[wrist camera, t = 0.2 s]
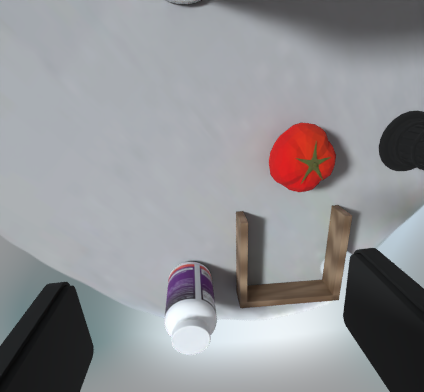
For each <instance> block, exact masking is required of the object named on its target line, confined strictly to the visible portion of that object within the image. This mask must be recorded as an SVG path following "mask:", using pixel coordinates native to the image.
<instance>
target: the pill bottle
mask: <svg viewBox="0 0 424 392" xmlns="http://www.w3.org/2000/svg"><path fill="white" fill-rule="evenodd" d="M216 323H217V316H216V308H215V301H214V293H213V285H212V277H211V274H210V272H209V270H208V269H207V268H206V267H205V266H204V265H202V264H200V263H197V262H185V263H182V264H179V265H178V266H176V267H175V268H174V269H173V270H172V272H171V273H170V276H169V281H168V291H167V301H166V311H165V328H166V330H167V332H168V334H169V335H170V336H171V337H172V345H173V347H174V349H175V350H177V351H178V352H179V353H182V354H185V355H194V354H198V353H201V352H202V351H204V350H205V349H206V348H207V347H208V346H209V344H210V340H211V338H210V335H211V334H212V333H213V331H214V329H215V327H216Z"/></svg>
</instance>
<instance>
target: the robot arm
mask: <svg viewBox="0 0 424 392" xmlns="http://www.w3.org/2000/svg"><path fill="white" fill-rule="evenodd" d="M167 1H169V2H172V3H176V4H191V3H196V2H198V1H201V0H167ZM343 317H344V322H345V325H346V327H347V328H348V330H349V331H350V333H351V334H352V336H353V337H354V339H355V340H356V342H357V343H358V345H359V346H360V348H361V349H362V351H363V352H364V354H365V355H366V357H367V358H368V360H369V361H370V363H371V364H372V366H373V367H374V369H375V370H376V372H377V373H378V375H379V376H380V377H381V379H382V381H383V382H384V384H385V385H386V387H387V388H388V390H389V391H390V392H424V289H423V288H422V287H421V286H420V285H419V284H418V283H416V282H415V281H414V280H413V279H412V278H410V277H409V276H408V275H407V274H406V273H404V272H403V271H402V270H401V269H400V268H398V267H397V266H396V265H395V264H394V263H393V262H391V261H390V260H389V259H388V258H387V257H385V256H384V255H383V254H382V253H381V252H380V251H378V250H377V249H375V248H368V249H359V250H356V251H355V252H354V254H353V255H351V257H350V262H349V270H348V280H347V288H346V296H345V304H344V313H343ZM92 357H93V343H92V340H91V337H90V334H89V330H88V327H87V324H86V321H85V318H84V314H83V312H82V308H81V305H80V302H79V299H78V296H77V292H76V289H75V287H74V286H70V284H69V283H68V282H60V283H51V284H47V285H46V286H45V287H44V288H43V290H42V291H41V292H40V294H39V295H38V297H37V298H36V299H35V300H34V302H33V303H32V304H31V306H30V307H29V308H28V310H27V311H26V312H25V314H24V315H23V316H22V318H21V319H20V321H19V322H18V323H17V324H16V326H15V327H14V328H13V330H12V331H11V332H10V334H9V335H8V336H7V338H6V339H5V340H4V342H3V343H2V344H1V346H0V392H80V390H81V387H82V384H83V382H84V379H85V376H86V373H87V371H88V368H89V365H90V363H91V360H92Z"/></svg>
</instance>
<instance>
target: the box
mask: <svg viewBox="0 0 424 392" xmlns="http://www.w3.org/2000/svg"><path fill="white" fill-rule="evenodd" d="M351 221H352V215H350V214H349V213H348V212H346V211H345V210H344V209H343V208H341V207H340V206H339V205H335V206H332V209H331V216H330V224H329V232H328V239H327V247H326V255H325V262H324V270H323V278H322V280H313V281H300V282H287V283H274V284H262V285H249V286H247V266H248V221H247V219H246V217H245V215H244V212H243V211H240V212H236V277H237V295H238V300H239V304H240V308H249V307H261V306H273V305H285V304H297V303H309V302H321V301H333V300H339V295H340V288H341V282H342V276H343V270H344V263H345V257H346V252H347V245H348V239H349V233H350V227H351Z"/></svg>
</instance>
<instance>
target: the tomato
mask: <svg viewBox="0 0 424 392" xmlns="http://www.w3.org/2000/svg"><path fill="white" fill-rule="evenodd" d="M335 159H336V154H335V151H334V149H333V146H332V145H331V143H330V142H329V141H328V138H327V135H326V133H325V132H324V130H323V129H322V128H320V127H319V126H317V125H315V124H309V123H298V124H295V125H293V126H292V127H290V128H289V129H288V130H287V131H285V132H284V133H283V134H282V135H280V136H279V138H278V139H277V141H276V142H275V143H274V145H273V148H272V150H271V152H270V158H269V167H270V174H271V176H272V177H273V179H274V180H275V181H276V182H278V183H280V184H282V185H283V186H285V187H286V188H288V189H289V190H292V191H296V192H305V191H309V190H312V189H313V188H314V187H315V186H316V185H317V184H319V182H320V181H321V180H324V179H325V178H327V177H328V176H330V175H331V173H332V170H333V168H334V165H335Z"/></svg>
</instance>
